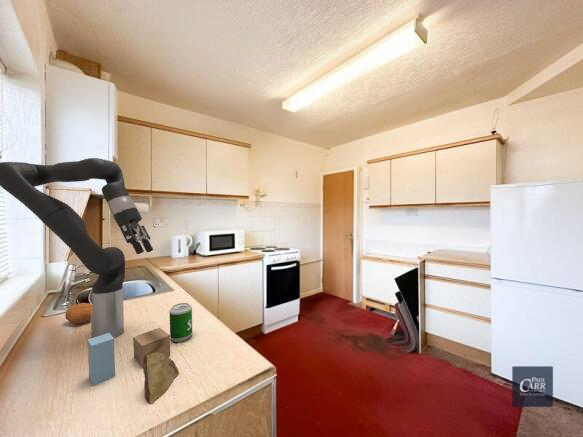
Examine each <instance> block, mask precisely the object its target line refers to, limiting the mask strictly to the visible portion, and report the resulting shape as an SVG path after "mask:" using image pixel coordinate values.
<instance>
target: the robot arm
mask: <svg viewBox="0 0 583 437" xmlns="http://www.w3.org/2000/svg"><path fill="white" fill-rule="evenodd" d="M124 178H125V177H124V174H123V171H122V169H121V167H120V166H119V165H118V164H117V163H116V162H114V161H113V160H107V159H103V158H97V157H89V158H85V159H80V160H78V161H76V160H75V161H73V160H72V161H63V162H57V163H54V164H49V165H47V164H46V165H45V164H36V163H30V162H22V161H19V162H18V161H2V162H1V161H0V187H1V188H2V189H3V190H5V191H6V192H8V193H9V195H11V196H13V198H15V199H16V200H18V201H19V202H20V203H21V204H23V205H24V206H25V207H26V208H28V210H30V212H31V213H33V214H34V216H36V217H37V218H38V219H39V220H40V221H41V222H42V223H43V224H44V225H45V226H46V227H47V228H48V229H49V230H50V231H51V232H52V233H53V234H55V235H56V236H57V237H58V238H59V239H60V240H61V241H62V242H63V243H64V244H65V245H66V246H67V247H68V249H70V250H71V251H72V252H73V253H74V254H75V256H76V257H77V258H78V259H79V261H80V262H81V263H82V265H83V266H84V267H85V268H86V269H87V270H88V271H89V272H91V273H93V274H94V275H97V276H98V277H97V278H96V281H94V282H93V284H92V285H91V286H92V287H91V292H92V293H91V294H92V297H91V298H92V305H93V312H91V319H90V330H91V331H90V332H91V336H90V337H91V338H94V337H97V336H100V335H104V334H107V333H110V334H111V335H112V337H113V338H114V339H115V338H117V337H119V336H121V335H122V334H123V333H124V332H125V318H124V311H125V310H124V287H123V285H124V281H125V277H126V258H125V254H124V252H123V251H122V250H121V249H120V248H119V247H116V246H107V247H105V248H103V247H101V246H100V245H98V243H97V242H96V241H95V240H94V239H92V238H91V236H90V235H89V233H88V230H87V228H86V224H85V221H84V219H83V218H82V217H81V215H79V213H78V212H76V211H75V210H74V208H72V207H71V206H70V205H69V204H67V203H65V201H64V202H63V201H62V200H59V199H57V198H56V197H54V196H50V195H48V194H47V193H45V192H43V191H40V189H37V188H36V187H41V186H43V185H47V184H51V183H75V182H86V181H90V180H92V179H93V180H103V181H104V182H106V184H105V185H103V186H102V187H101V193H102V195H103V198H104V200H105V202H106V203H107V205H108V208H109V211H110V213H111V214H112V217H113V219H114V221H115V222H116V225H117V226H118V228H119V229H120V231H121V234H122V236H123V237H124V240H125V242H126V243H127V244H130V245H131V246H132V247H133V250H134V251H135V253H136V254H137V255H141V254H143V253H144V252H145V251H146V252H145V253H151V252H152V251H154V248H153V246H152V243H151V242H150V240H151V236H150V235H149V233H148V231H147V229H146V227H145V226H144V225H140V224H139V222H141V221H142V219H143V218H142V216H141V214H140V212H139V210H138V208H137V205H136V204H135V202H134V200H133V199H132V197H131V196H130V194H129V192H128V190H127V188H126V185H125V179H124ZM141 243H142V244H141ZM91 338H90V339H91Z"/></svg>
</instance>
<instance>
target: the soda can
mask: <svg viewBox="0 0 583 437" xmlns="http://www.w3.org/2000/svg"><path fill="white" fill-rule="evenodd" d="M169 335H170V340H172V342H174V343H181V342H184V341H187V340H189V339H190V338H191V337H192V335H193V307H192V305H191V304H190V303H188V302H180V303H176V304H174V305H172V306H171V308H170V309H169Z"/></svg>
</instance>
